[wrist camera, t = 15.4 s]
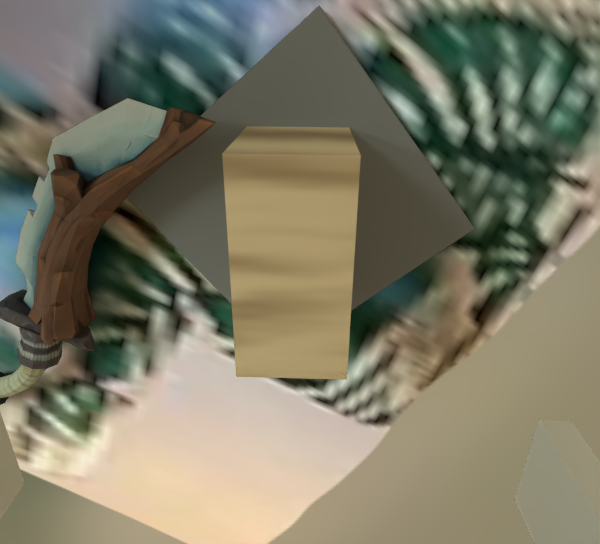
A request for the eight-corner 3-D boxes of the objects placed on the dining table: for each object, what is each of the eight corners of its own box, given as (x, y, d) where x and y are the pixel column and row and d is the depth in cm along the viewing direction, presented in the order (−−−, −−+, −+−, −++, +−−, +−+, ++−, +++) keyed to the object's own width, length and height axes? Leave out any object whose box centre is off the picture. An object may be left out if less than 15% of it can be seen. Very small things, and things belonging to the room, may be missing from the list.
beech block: (346, 379, 25) (360, 155, 20) (236, 376, 25) (222, 153, 20) (340, 306, 32) (349, 127, 27) (254, 304, 33) (247, 126, 28)
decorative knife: (-28, 375, 39) (99, 29, 26) (62, 431, 39) (229, 119, 27) (-77, 410, 35) (45, 20, 22) (24, 472, 35) (199, 126, 23)
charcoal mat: (283, 352, 35) (283, 356, 34) (122, 188, 30) (119, 190, 29) (472, 225, 30) (474, 228, 30) (319, 6, 25) (319, 5, 25)
